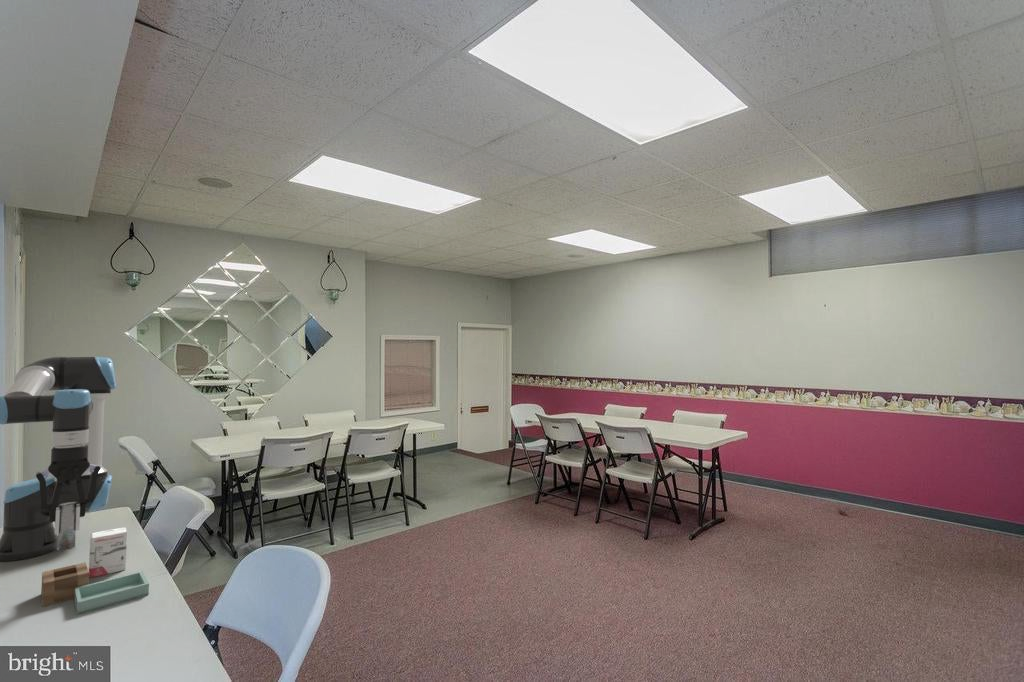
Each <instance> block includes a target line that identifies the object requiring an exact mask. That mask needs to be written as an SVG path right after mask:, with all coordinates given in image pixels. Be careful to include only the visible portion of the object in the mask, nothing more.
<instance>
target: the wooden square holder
mask: <svg viewBox="0 0 1024 682" xmlns="http://www.w3.org/2000/svg"><path fill="white" fill-rule="evenodd" d="M89 578H90V577H89V567H88V566H87V562H82V563H76V564H73V565H69V566H64V567H59V568H55V569H50V570H46V571H42V572H41V594H40V595H41V607H46V606H50V605H53V604H57V603H62V602H66V601H69V600H73V599H74V594H75V588H77V587H81V586H85V585H89Z"/></svg>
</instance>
